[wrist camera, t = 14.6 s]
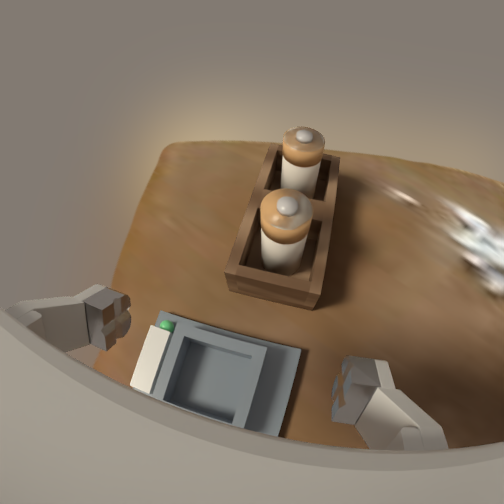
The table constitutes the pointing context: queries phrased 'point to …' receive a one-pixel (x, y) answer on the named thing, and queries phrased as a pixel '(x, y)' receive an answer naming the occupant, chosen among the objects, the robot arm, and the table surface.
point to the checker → (217, 373)
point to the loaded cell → (301, 159)
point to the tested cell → (284, 230)
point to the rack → (316, 247)
